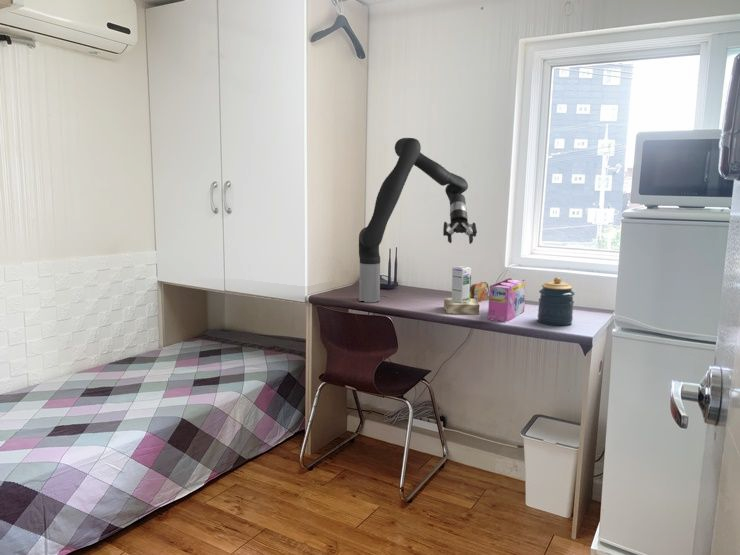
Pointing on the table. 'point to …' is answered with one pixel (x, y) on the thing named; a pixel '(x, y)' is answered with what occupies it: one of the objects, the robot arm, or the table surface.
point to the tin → (479, 291)
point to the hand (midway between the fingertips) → (460, 242)
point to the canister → (556, 303)
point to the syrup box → (461, 284)
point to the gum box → (506, 299)
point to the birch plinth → (461, 307)
